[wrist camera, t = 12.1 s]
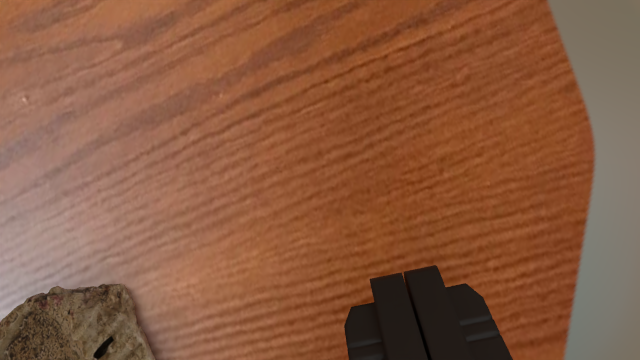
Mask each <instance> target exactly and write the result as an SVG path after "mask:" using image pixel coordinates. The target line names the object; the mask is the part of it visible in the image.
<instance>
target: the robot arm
mask: <svg viewBox="0 0 640 360" xmlns="http://www.w3.org/2000/svg"><path fill="white" fill-rule="evenodd" d="M404 279H405V282H404ZM404 279H403V276H402V273H396V274H391V275H387V276H382V277H377V278H372V279H370V283H371V288H372V293H373V297H374V303H369V304H364V305H359V306H354V307H351V309H350V312H349V314H348V317H347V320H346V323H345V325H344V328H345V335H346V342H347V348H348V356H349V360H513V359H512V357H511V355H510V353H509V351H508V349H507V347H506V345H505V342H504V340H503V338H502V336H501V335H500V333H499V330H498V328H497V326H496V324H495V322H494V320H493V319H492V315H491V313H490V311H489V309H488V307H487V305H486V303H485V301H484V299H483V297H482V296H481V295H479V294H478V293H477V292H476V291H474V290H473V289H472V288H471V287H470V286H468V285H467V284H466V283H465V284H460V285H455V286H451V287H445V285H444V282H443V280H442V277H441V275H440V272H439V270H438V268H437V266H436V265H434V266H429V267H424V268H420V269H415V270H410V271H405V272H404Z"/></svg>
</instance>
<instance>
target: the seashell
mask: <svg viewBox="0 0 640 360" xmlns="http://www.w3.org/2000/svg"><path fill="white" fill-rule="evenodd" d="M0 360H156V359H155V357H154V356H153V354H152V351H151V348H150V346H149V345H148V341H147V338H146V335H145V333H144V332H143V331H142V328H141V327H140V326H139V325H138V324H137V323H136V316H135V304H134V302H133V299H132V298H131V297H130V295H129V293H128V290H127V288H126V286H125V285H124V284H116V285H105V284H102V285H100V286H99V287H86V288H85V287H79V288H77V289H73V290H67V289H63V288H61V287H59V286H56V287H53V288H52V289H51V290H50V291H49V292H48V293H47V294H44V293H40V294H37V295H34V296H32V297H30V298H27V299H26V301H25V302H24V303H23V304H21V305H19V306H17V307H16V308H15V309H14V310H13V311H11V312H10V313H9V314H8V315H7V316H6V317H5V318H3V319H2V321H1V322H0Z"/></svg>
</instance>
